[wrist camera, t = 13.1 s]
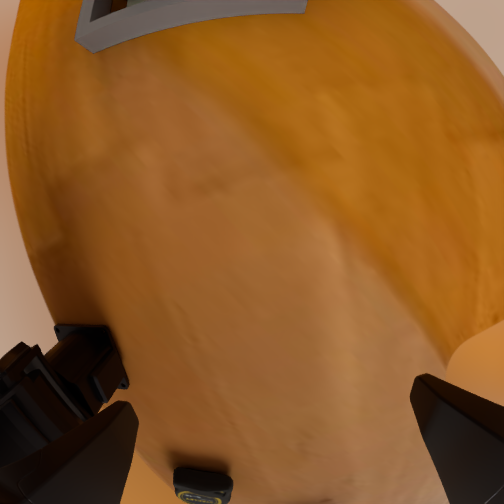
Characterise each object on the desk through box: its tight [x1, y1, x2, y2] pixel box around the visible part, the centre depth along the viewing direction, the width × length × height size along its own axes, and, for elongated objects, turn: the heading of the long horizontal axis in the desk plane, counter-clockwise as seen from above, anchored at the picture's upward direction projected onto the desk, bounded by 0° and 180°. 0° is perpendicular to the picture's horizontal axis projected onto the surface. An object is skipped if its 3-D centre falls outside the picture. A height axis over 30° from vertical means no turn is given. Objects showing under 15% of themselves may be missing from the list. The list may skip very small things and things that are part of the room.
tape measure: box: [173, 467, 233, 504], centre depth 23 cm, size 7×7×4 cm
